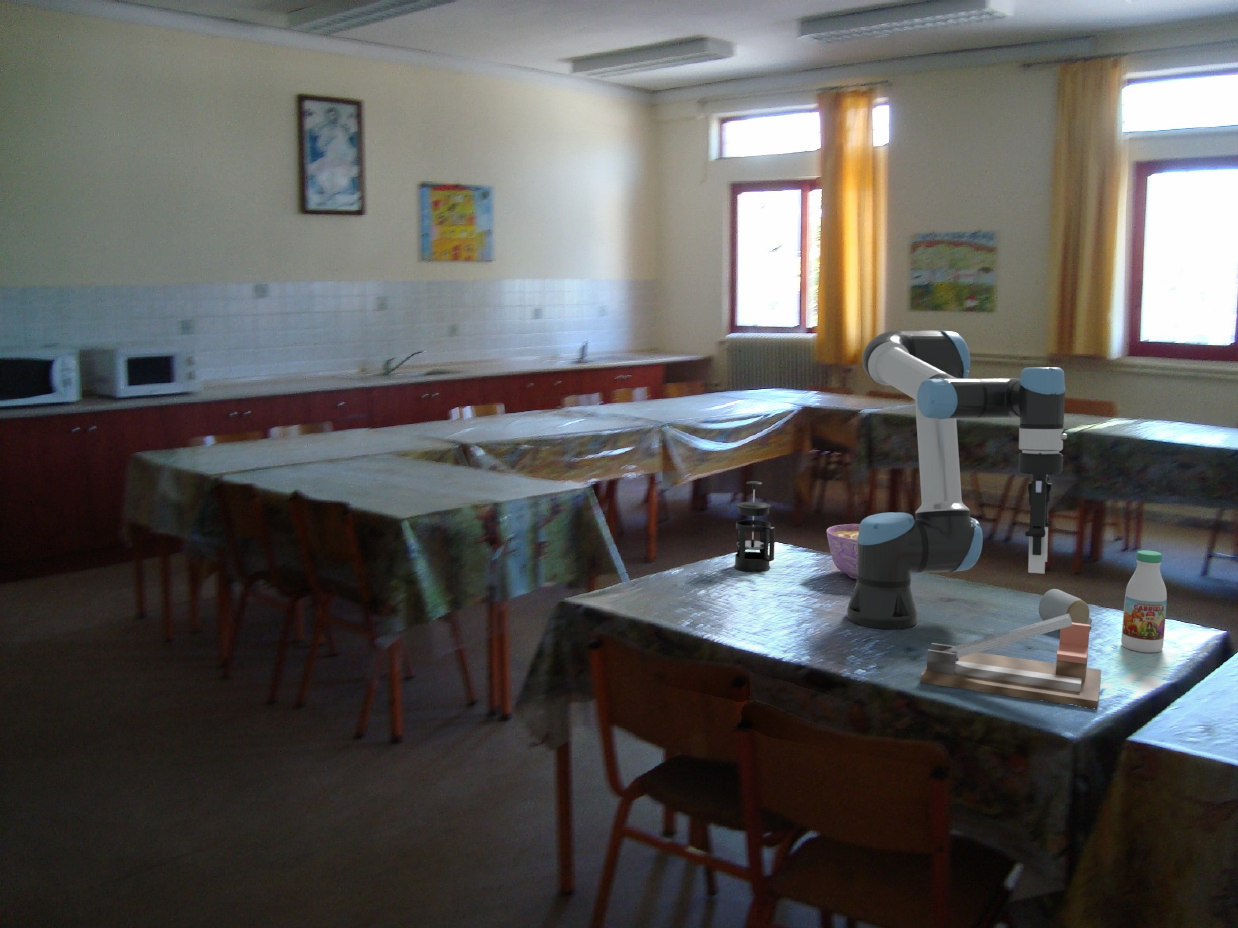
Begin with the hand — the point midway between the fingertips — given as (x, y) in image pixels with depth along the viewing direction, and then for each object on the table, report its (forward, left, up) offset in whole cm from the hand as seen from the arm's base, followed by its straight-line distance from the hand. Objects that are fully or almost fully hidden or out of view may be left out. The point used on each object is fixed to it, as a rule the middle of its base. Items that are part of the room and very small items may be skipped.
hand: (1038, 566), depth 200 cm
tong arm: (-4, -6, -13) cm, 15 cm away
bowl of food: (-45, +62, -22) cm, 80 cm away
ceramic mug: (+4, +39, -22) cm, 45 cm away
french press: (-73, +57, -22) cm, 95 cm away
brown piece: (-3, -2, -22) cm, 22 cm away
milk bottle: (+19, +30, -22) cm, 41 cm away
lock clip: (+7, +2, -17) cm, 18 cm away
